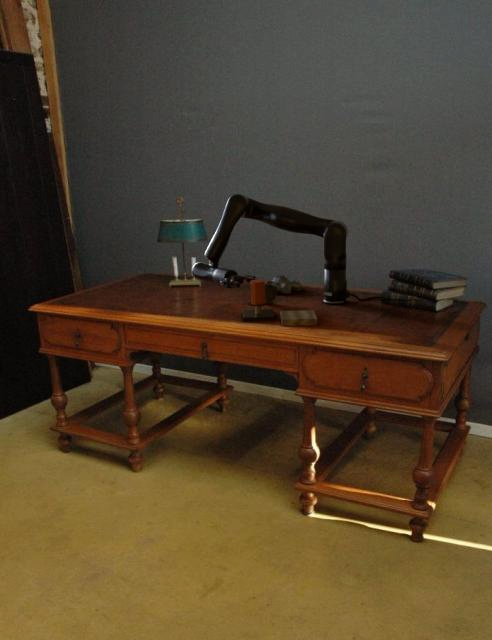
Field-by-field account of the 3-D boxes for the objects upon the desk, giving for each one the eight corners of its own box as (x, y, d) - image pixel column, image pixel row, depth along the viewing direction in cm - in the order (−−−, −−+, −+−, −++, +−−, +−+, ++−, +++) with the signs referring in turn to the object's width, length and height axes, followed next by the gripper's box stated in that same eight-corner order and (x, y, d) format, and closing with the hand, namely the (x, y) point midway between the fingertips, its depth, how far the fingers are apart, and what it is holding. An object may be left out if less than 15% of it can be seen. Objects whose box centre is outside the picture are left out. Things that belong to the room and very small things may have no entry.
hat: (267, 301, 261) (267, 278, 257) (268, 306, 253) (268, 282, 250) (247, 301, 260) (247, 279, 257) (248, 306, 253) (247, 283, 250)
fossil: (279, 277, 312) (297, 263, 300) (291, 297, 313) (309, 285, 300) (253, 289, 302) (270, 276, 290) (265, 310, 303) (282, 298, 290)
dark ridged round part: (275, 306, 274) (275, 287, 271) (258, 305, 276) (257, 286, 273) (278, 302, 281) (278, 283, 278) (261, 301, 282) (261, 283, 279)
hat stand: (272, 312, 264) (272, 279, 259) (274, 320, 253) (274, 285, 248) (243, 313, 264) (241, 280, 259) (243, 321, 253) (242, 286, 248)
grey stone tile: (313, 316, 258) (313, 310, 257) (317, 325, 246) (317, 318, 245) (280, 317, 258) (280, 311, 257) (282, 326, 245) (282, 319, 245)
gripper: (210, 270, 265) (233, 276, 253) (239, 266, 273) (262, 271, 261) (211, 289, 268) (234, 295, 256) (239, 284, 276) (263, 290, 264)
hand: (248, 283), depth 259 cm, fingers open, 8 cm apart
